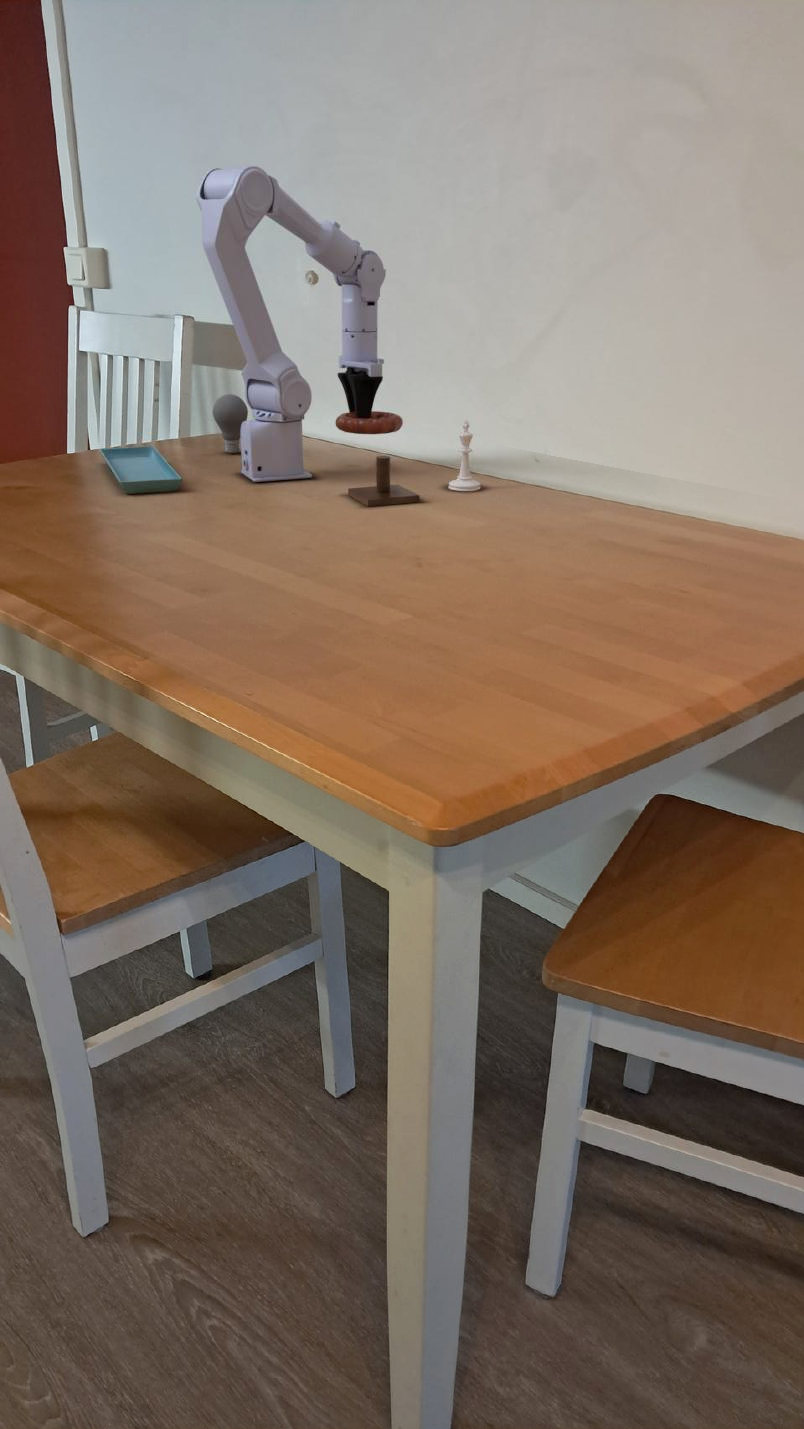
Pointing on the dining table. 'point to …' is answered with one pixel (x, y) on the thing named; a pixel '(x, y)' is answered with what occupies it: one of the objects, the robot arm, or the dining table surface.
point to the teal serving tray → (141, 469)
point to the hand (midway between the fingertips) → (360, 417)
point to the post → (383, 488)
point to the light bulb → (230, 420)
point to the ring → (369, 423)
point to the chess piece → (465, 465)
